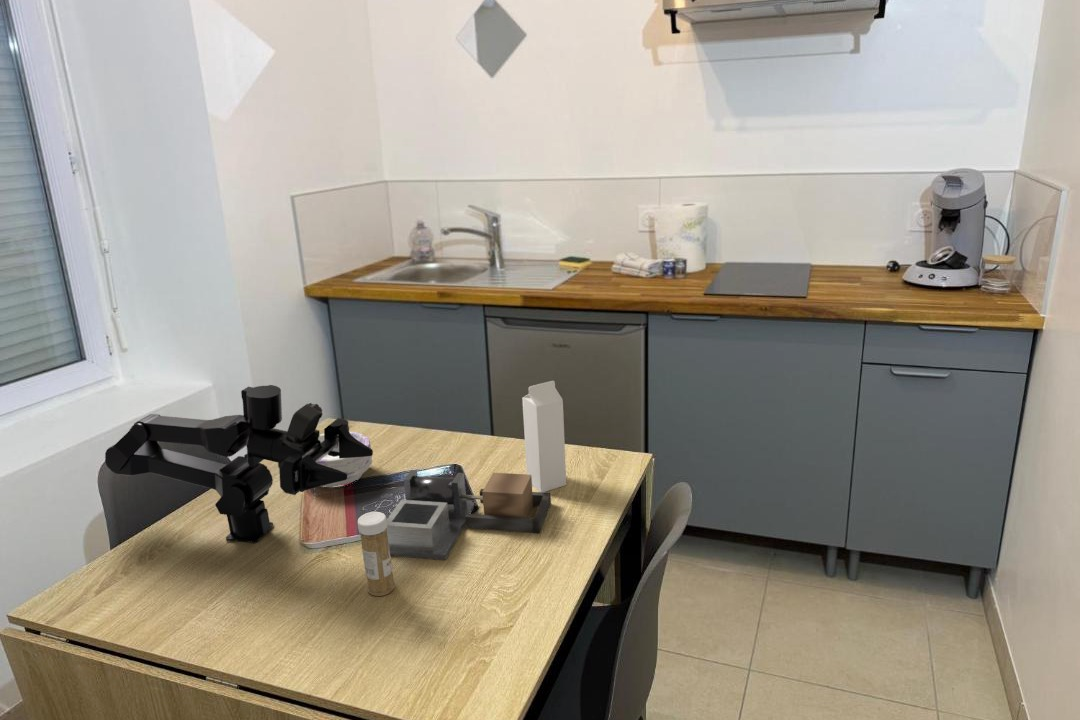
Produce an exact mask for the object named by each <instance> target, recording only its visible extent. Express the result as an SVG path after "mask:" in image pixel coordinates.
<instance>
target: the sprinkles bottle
mask: <svg viewBox="0 0 1080 720" xmlns="http://www.w3.org/2000/svg"><path fill="white" fill-rule="evenodd" d="M357 528H358V529H357V530H358V532H359V536H360V542H361V552H362V559H363V565H364V570H365V576H366V582H367V592H368V593H369V594H370V595H372V596H374V597H382V596H386V595H388V594H390V593H392V591H394V589H395V586H396V584H395V581H394V574H393V564H392V557H391V556H390V548H389V544H388V537H387V515H386V514H385V513H384V512H380V511H370V512H366V513H364V514H362V515H360V517H359V518H358V519H357Z"/></svg>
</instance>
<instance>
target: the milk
mask: <svg viewBox="0 0 1080 720" xmlns="http://www.w3.org/2000/svg"><path fill="white" fill-rule="evenodd" d="M555 382H556V381H555V380H550V381H546V382H541V383H538V384H534V385H531V386H529V387H528V394H526V395H524V396H523V397H522V398H521V399H522V414H523V415H522V416H523V429H524V430H523V431H524V432H523V433H524V446H525V447H524V449H525V465H526V474H528V475H531V477H532V487H533V488H535V489H536V490H537V491H538V492H543V493H547V492H548V491H549V492H550V491H552V490H555V489H558V488H560V487H564V486H567V471H566V467H567V466H566V447H565V423H564V420H565V419H564V401H563V400H564V399H563V397H562V396H561V395H560V393H559V391H558V390H557V388H556V383H555Z"/></svg>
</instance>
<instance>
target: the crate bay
mask: <svg viewBox="0 0 1080 720" xmlns="http://www.w3.org/2000/svg"><path fill="white" fill-rule="evenodd" d="M479 496H483V500H480V501H479V502H480V503H482V505H483V513H484V514H481V513H479V514H478V513H472V514H466V516H465V521H466V525H465V528H466V529H474V530H475V529H476V530H487V531H501V532H504V531H505V532H516V533H526V534H527V533H529V534H541V530H542V528H543V526H544V523H545V521H546V519H547V518H546V517H547V515H548V512H549V509H550V507H551V505H552V498H551V497H552V496H551V493H550V492H540V491H538V492H537V491H533V486H532V477H531V475H528V474H527V473H526V474H524V473H523V474H522V473H509V472H508V473H506V472H492V474H491V476H490V477H489V478H488V481H487V482H486V484H485V486H484V488H481V489H480V490H479ZM534 507H537V509H536V511H535V514H534V516H533V517H530V515H531V514H532V511H533V509H534Z"/></svg>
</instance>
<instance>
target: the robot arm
mask: <svg viewBox="0 0 1080 720" xmlns="http://www.w3.org/2000/svg"><path fill="white" fill-rule="evenodd" d="M240 395H241V396H240V397H241V399H242V411H243V414H235V415H234V414H233V415H225V416H221V417H218V418H217V417H216V418H213V419H202V418H201V419H200V418H190V417H189V418H187V417H177V416H167V415H166V416H165V415H160V414H158V413H150V414H149V415H147V416H145V417H143V418H141V419H140V420H137V421H136V422H134V423H133V425H132V426H131V427H130V429H129V430H128V431H127V432H126V433H125V434H124V435H123V436H122V437H121V438H120V439H119V440H118V441H117V442H116V443H115V444H113V445H111V446H110V447H108V448H107V449H106V451H105V452H104V454H105V455H104V457H105V460H104V462H105V464H106V467H107V468H108V469H109V470H110V471H111V472H112V473H114V474H116V475H118V476H119V475H120V476H121V475H122V476H129V477H130V476H138V475H139V476H140V475H145V474H154V475H158V476H162V477H165V478H170V479H173V480H177V481H181V482H185V483H189V484H192V485H197V486H201V487H203V488H208V489H212V490H215V491H216V492H217V494H218V495H219V496H220V498H218V500H217V501H216V502H215V504H214V505H215V508H216V509H217V511H218V513H219V515H224V516H226V518H227V522H228V528H229V533H228V534H227V535H226V536H225V540H226V541H229V542H244V543H251V544H252V543H254V544H255V543H258V542H259V541H260V540H261V538H263V537H264V536H265V534H267V532H269V531H270V529H271V528H272V527H274V522H271V521H270V516H269V511H268V508H266V505H265V501H264V500H263V498H265V497H266V496H267V495H269V491H270V488H272V486H273V482H274V480H273V476H272V473H271V471H270V470H269V468H268V466H267V465H266V464H263V463H261V462H263V461H264V460H266V461H270V462H273V463H277V466H278V469H279V470H278V471H279V488H280V489H281V490H282V491H283V493H284V494H288V495H290V496H291V495H292V496H296V495H297V494H298V493H304V492H305V491H307V490H312V489H316V488H318V487H320V486H323V485H327V484H331V483H335V482H340V481H344V480H346V479H347V473H344V472H342V471H339V470H336V469H333V468H330V467H327V466H324V465H321V464H318V462H319V461H320V460H321V459H322V458H323V457H324V456H326V455H327V454H328V455H329V456H333V457H335V456H339V458H353V457H367V456H372V457H373V454H374V451H373V449H372V447H371V448H369V447H367V446H366V445H364V444H363V443H361V442H360V441H358V440H357V439H355V438H354V437H353V436H352V435H351V434H350V432H351V431H350V426H349V420H347V419H343V418H340V417H338V418H336V419H335V420H334V421H332V422H331V423H330V424H328V425H327V426H326V427H325V428H324V429H323V434H324V441H323V442H320V440H318V437H319V436H320V435H321V434H320V430H319V429H317V427H318V424H319V422H320V419H321V418H322V417H323V409H322V407H321V406H320V405H319V404H318V403H312V402H310V403H306V404H305V405H303V406H302V407H300V408H299V409H298V410H296V411H295V412H294V413H293V415H292V417H291V419H290V423H289V425H288V429H287V430H284V429H279V428H276V426H277V425H278V424H281V422H282V420H283V412H282V411H283V407H282V389H281V388H280V387H279V386H277V385H274V384H268V385H258V386H254V387H253V386H246V387H245V388H244V389H242V390H241V391H240ZM159 442H163V443H169V444H170V443H173V444H180V445H181V444H182V445H188V446H189V445H191V446H199V447H202V448H204V449H205V450H206V451H207V452H208V453H211V454H214V455H216V456H217V455H218V456H221V457H224V458H229V457H230V458H231V457H232V456H234V455H236V454H237V453H238V452H240V451H241V450H243V449H244V448H245V447H246V453H245V454H244V456H241V455H239V456H236V457H235V458H234V459H233V460H231V461H230V462H228V463H227V464H226V463H223V462H222V463H221V462H218V461H213V460H211V459H205V458H201V457H199V456H198V457H197V456H194V455H190V454H185V453H182V452H178V451H175V450H169V449H166V448H163V447H162V446H161V444H160V443H159Z"/></svg>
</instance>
